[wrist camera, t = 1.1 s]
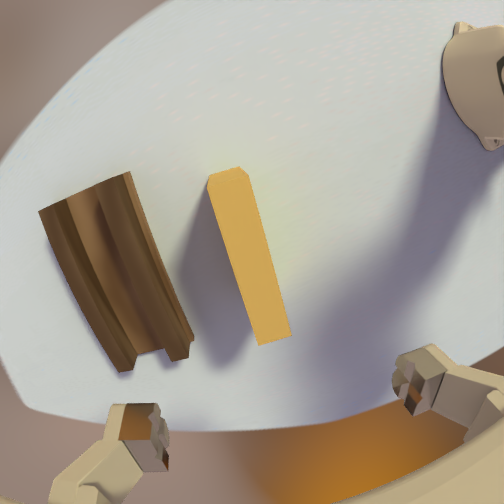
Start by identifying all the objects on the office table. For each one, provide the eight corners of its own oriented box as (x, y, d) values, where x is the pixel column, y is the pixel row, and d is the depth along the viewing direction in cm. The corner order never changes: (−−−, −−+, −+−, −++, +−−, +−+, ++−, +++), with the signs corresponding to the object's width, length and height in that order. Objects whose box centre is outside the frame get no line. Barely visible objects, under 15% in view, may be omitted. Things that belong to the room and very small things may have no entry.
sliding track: (129, 171, 28) (117, 175, 24) (194, 336, 35) (192, 356, 31) (52, 204, 28) (34, 213, 24) (122, 352, 35) (115, 373, 31)
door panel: (239, 166, 29) (248, 175, 21) (273, 289, 34) (291, 335, 26) (209, 175, 29) (206, 187, 21) (248, 297, 34) (258, 345, 26)
